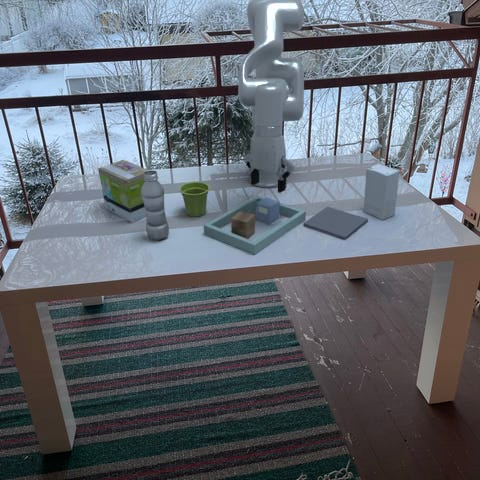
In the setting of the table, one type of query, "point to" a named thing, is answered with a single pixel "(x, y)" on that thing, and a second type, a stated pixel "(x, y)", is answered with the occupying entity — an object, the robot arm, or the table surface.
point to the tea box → (123, 189)
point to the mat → (335, 223)
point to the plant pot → (195, 197)
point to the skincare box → (381, 191)
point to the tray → (265, 240)
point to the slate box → (268, 210)
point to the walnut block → (243, 224)
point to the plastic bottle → (154, 206)
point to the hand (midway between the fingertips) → (268, 187)
